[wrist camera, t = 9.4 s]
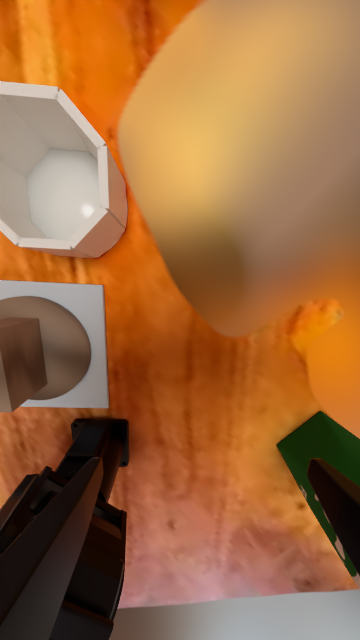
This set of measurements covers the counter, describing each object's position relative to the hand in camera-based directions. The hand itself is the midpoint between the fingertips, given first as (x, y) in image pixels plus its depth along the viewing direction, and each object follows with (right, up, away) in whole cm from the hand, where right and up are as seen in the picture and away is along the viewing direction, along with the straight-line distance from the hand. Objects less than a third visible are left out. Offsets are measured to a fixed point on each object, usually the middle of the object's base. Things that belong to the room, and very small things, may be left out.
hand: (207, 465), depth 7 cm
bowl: (-11, +17, +9) cm, 21 cm away
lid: (-16, +3, +11) cm, 20 cm away
